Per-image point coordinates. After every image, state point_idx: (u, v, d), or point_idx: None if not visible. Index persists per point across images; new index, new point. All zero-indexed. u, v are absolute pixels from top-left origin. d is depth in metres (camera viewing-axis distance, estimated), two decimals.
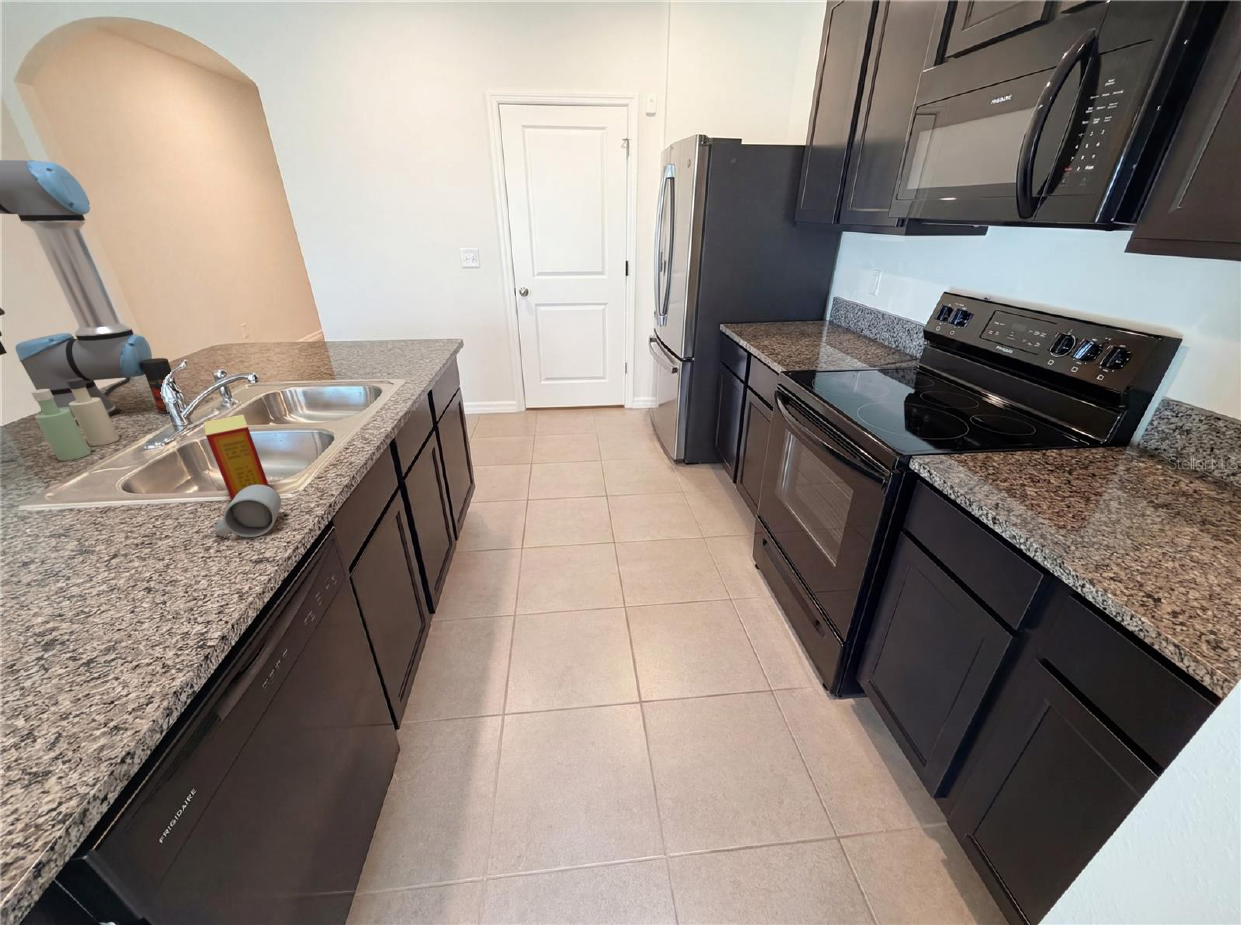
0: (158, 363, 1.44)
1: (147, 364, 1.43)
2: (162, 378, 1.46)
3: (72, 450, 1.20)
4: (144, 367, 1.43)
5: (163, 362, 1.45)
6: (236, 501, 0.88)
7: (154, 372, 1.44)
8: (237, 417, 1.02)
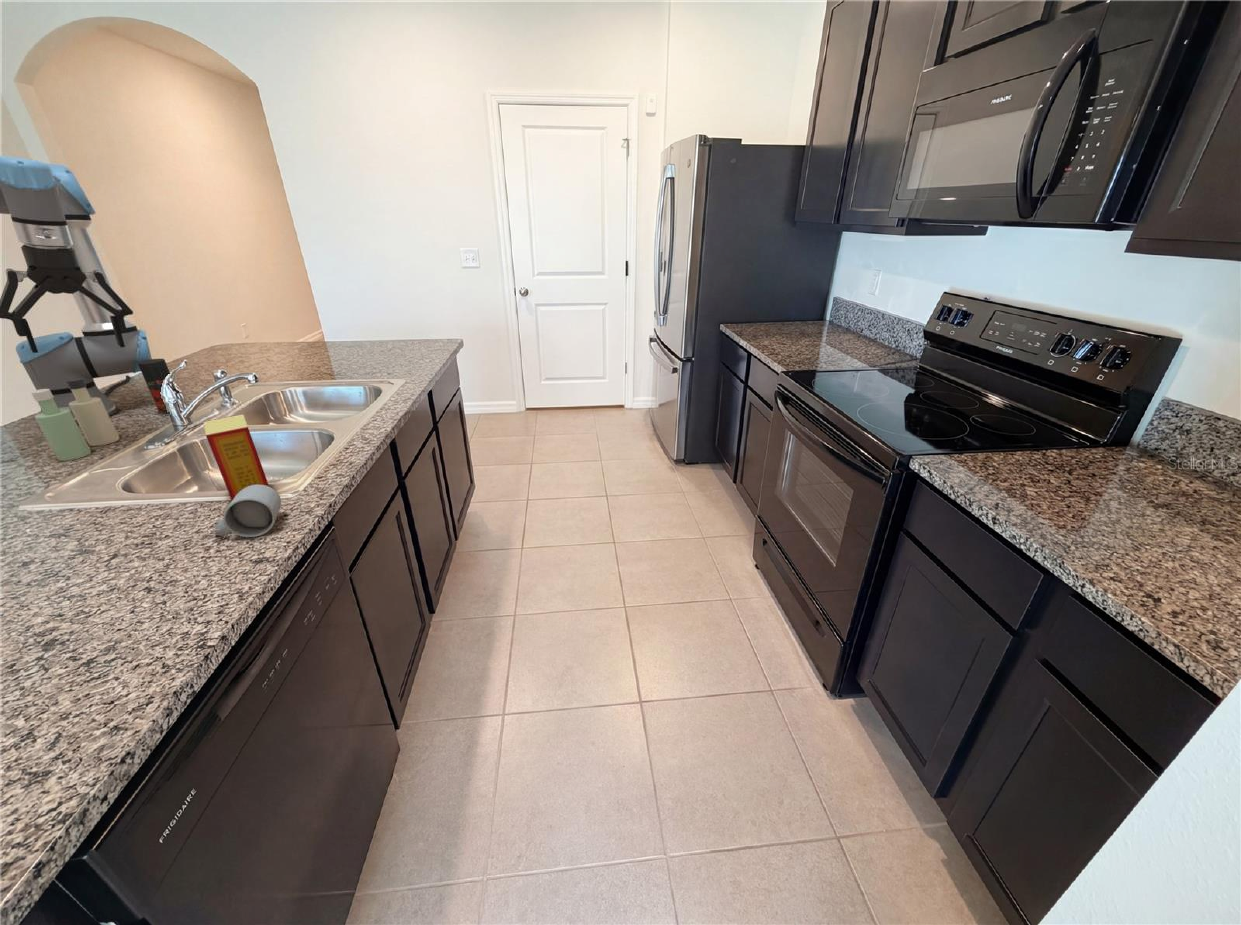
0: (155, 363, 1.44)
1: (144, 365, 1.43)
2: (160, 378, 1.45)
3: (72, 450, 1.20)
4: (141, 368, 1.43)
5: (160, 362, 1.45)
6: (236, 501, 0.88)
7: (152, 372, 1.44)
8: (237, 417, 1.02)
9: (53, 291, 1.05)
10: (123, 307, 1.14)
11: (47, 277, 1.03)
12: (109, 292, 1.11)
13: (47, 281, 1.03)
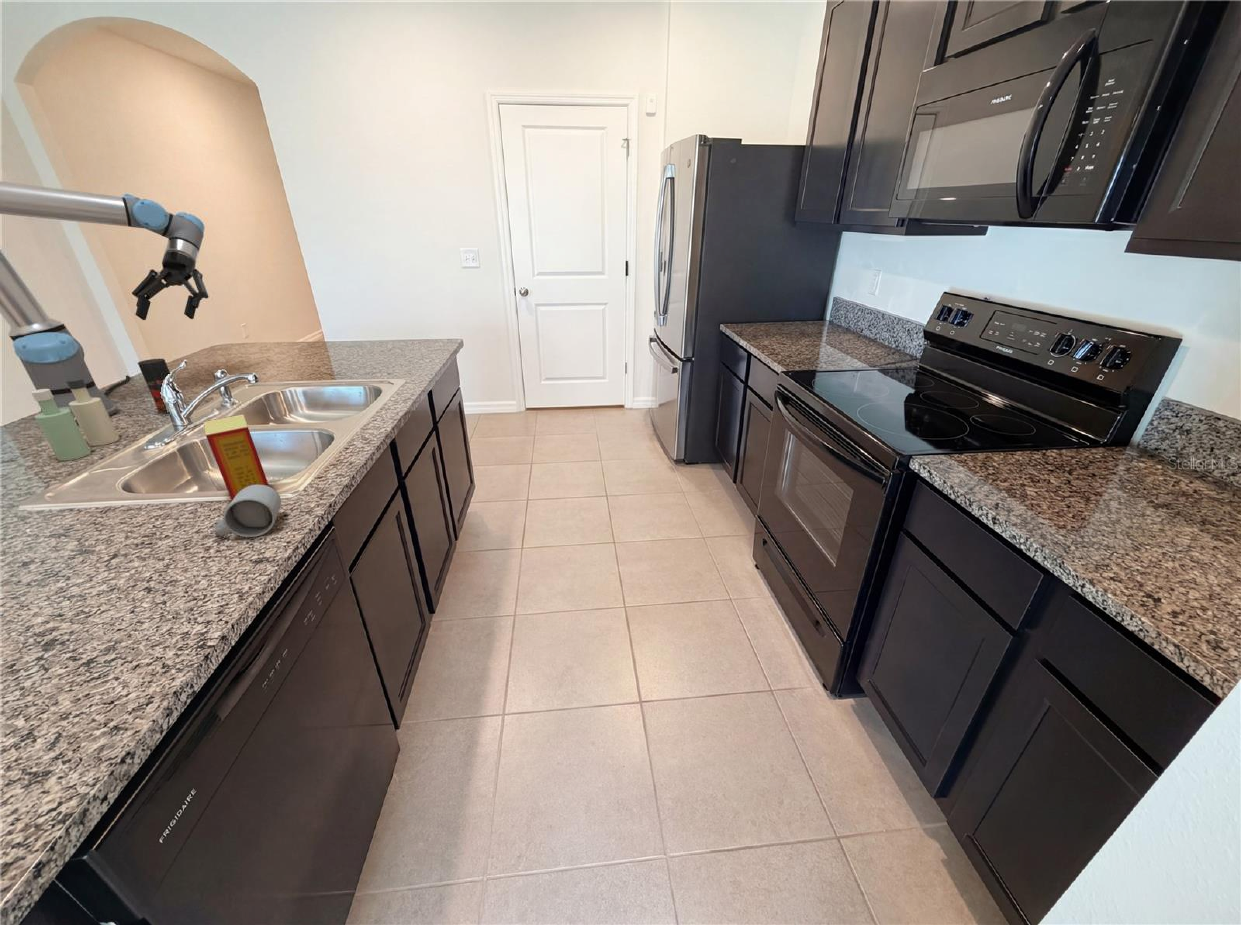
0: (155, 363, 1.44)
1: (144, 365, 1.43)
2: (160, 378, 1.45)
3: (72, 450, 1.20)
4: (141, 368, 1.43)
5: (160, 362, 1.45)
6: (236, 501, 0.88)
7: (152, 372, 1.44)
8: (237, 417, 1.02)
9: None
10: None
11: None
12: None
13: None
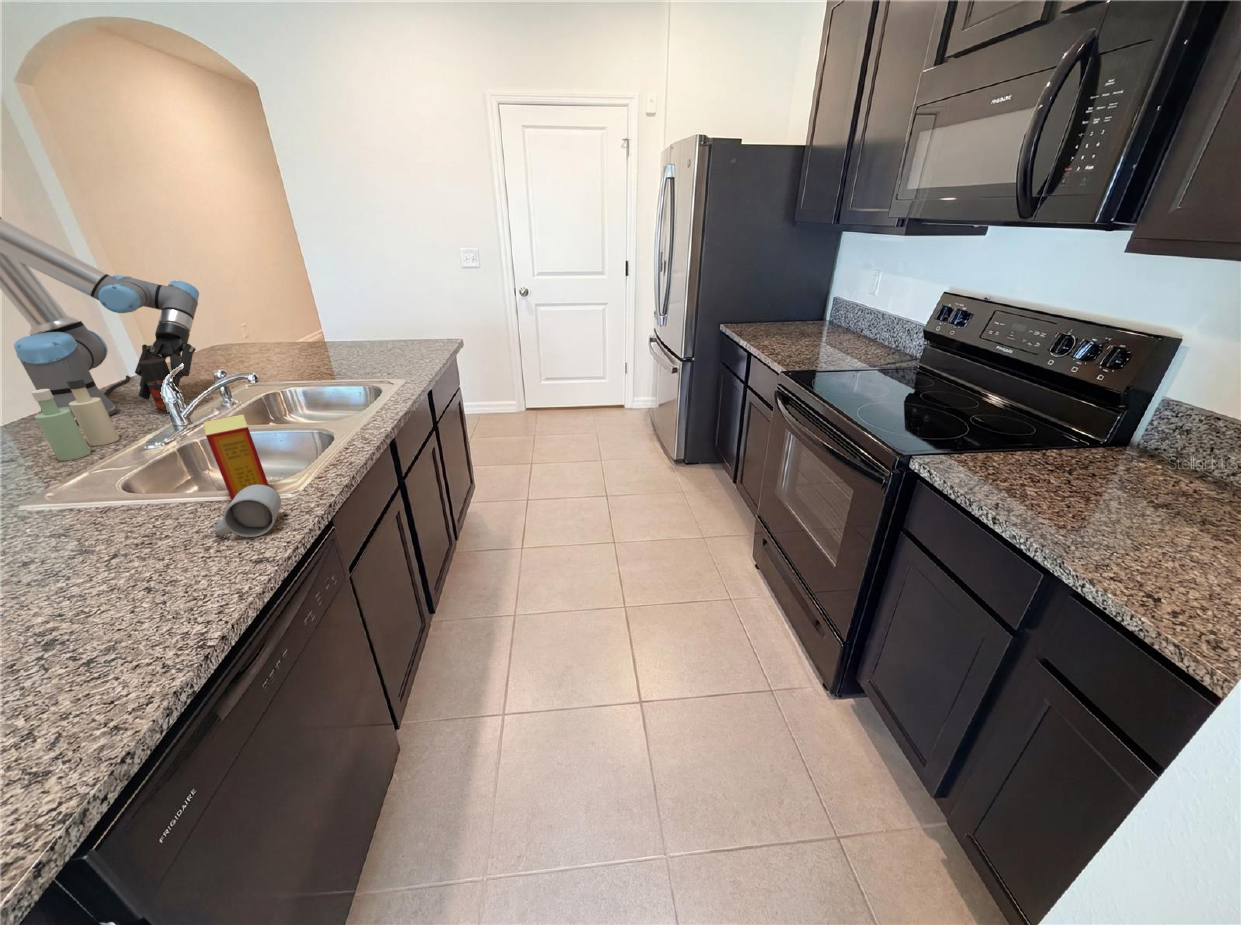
0: (155, 363, 1.44)
1: (145, 365, 1.43)
2: (160, 378, 1.45)
3: (72, 450, 1.20)
4: (142, 368, 1.43)
5: (160, 362, 1.45)
6: (236, 501, 0.88)
7: (152, 372, 1.44)
8: (237, 417, 1.02)
9: None
10: None
11: None
12: None
13: None
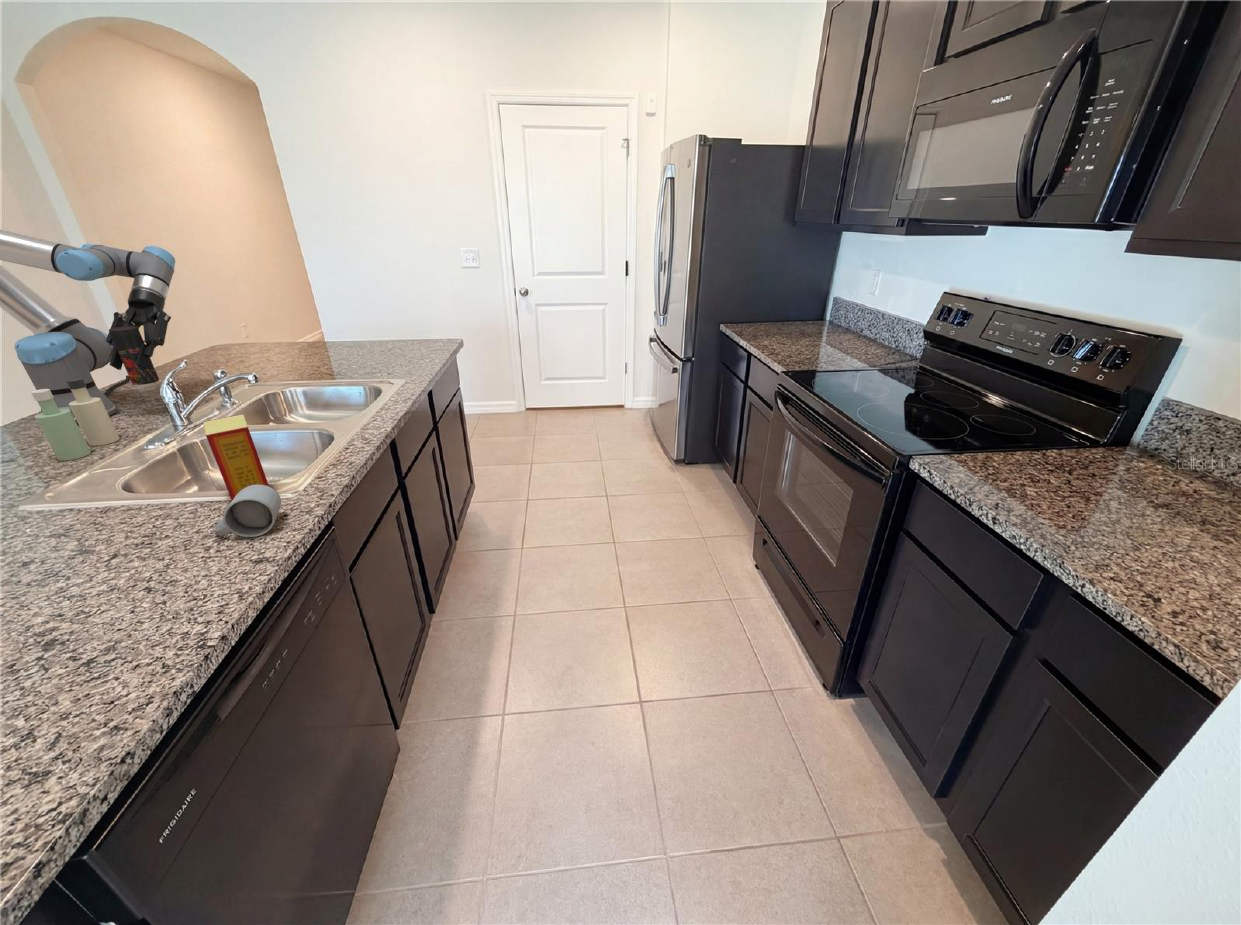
0: (127, 331, 1.36)
1: (115, 332, 1.35)
2: (133, 347, 1.38)
3: (72, 450, 1.20)
4: (113, 335, 1.35)
5: (133, 330, 1.37)
6: (236, 501, 0.88)
7: (124, 340, 1.36)
8: (237, 417, 1.02)
9: None
10: None
11: None
12: None
13: None
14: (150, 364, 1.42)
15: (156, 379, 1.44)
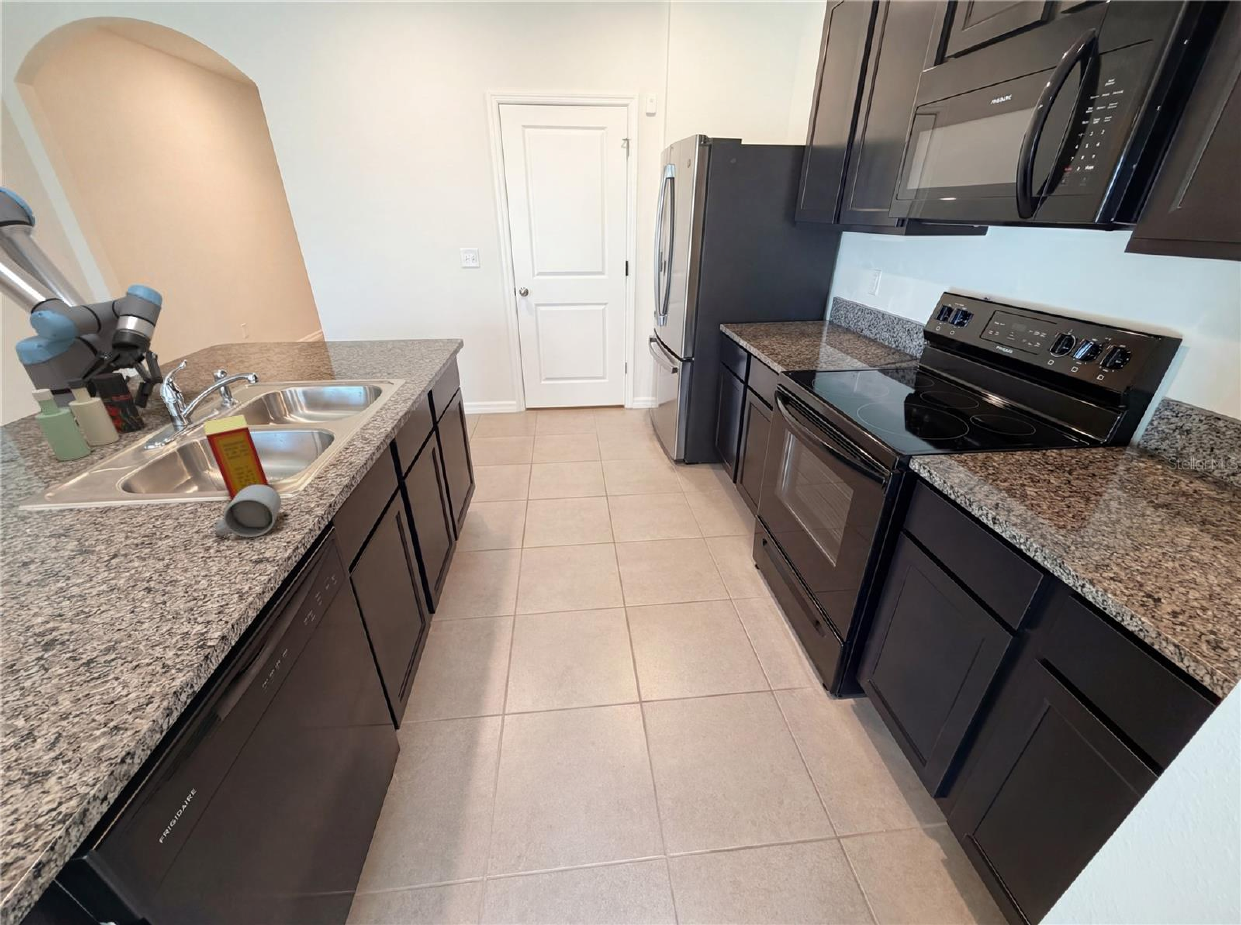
0: (111, 378, 1.31)
1: (98, 380, 1.29)
2: (117, 395, 1.32)
3: (72, 450, 1.20)
4: (95, 383, 1.30)
5: (116, 377, 1.32)
6: (236, 501, 0.88)
7: (107, 388, 1.31)
8: (237, 417, 1.02)
9: None
10: None
11: None
12: None
13: None
14: (135, 411, 1.37)
15: (142, 426, 1.39)
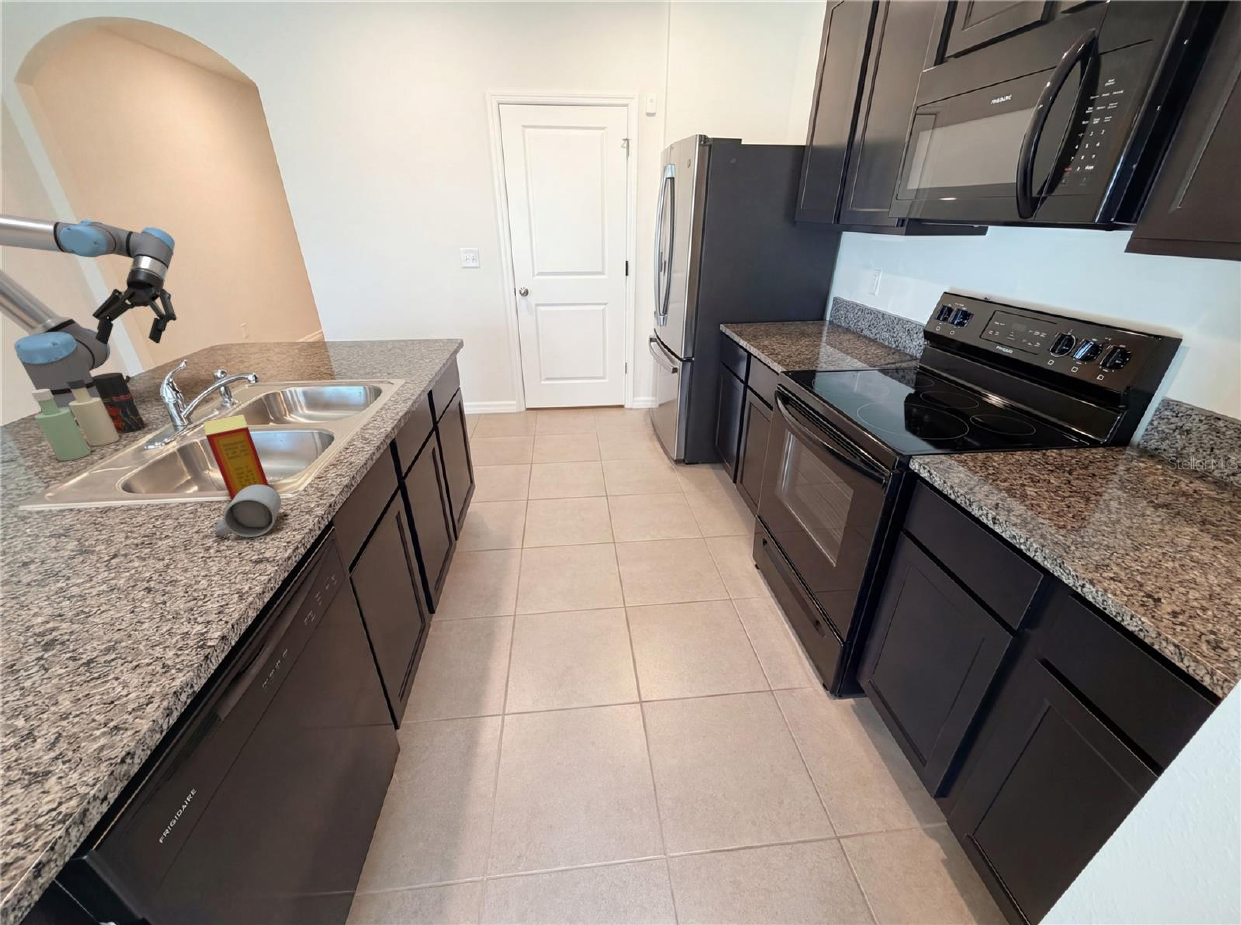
0: (111, 378, 1.31)
1: (98, 380, 1.29)
2: (117, 395, 1.32)
3: (72, 450, 1.20)
4: (95, 383, 1.30)
5: (116, 377, 1.32)
6: (236, 501, 0.88)
7: (107, 388, 1.31)
8: (237, 417, 1.02)
9: None
10: None
11: None
12: None
13: None
14: (135, 411, 1.37)
15: (142, 426, 1.39)
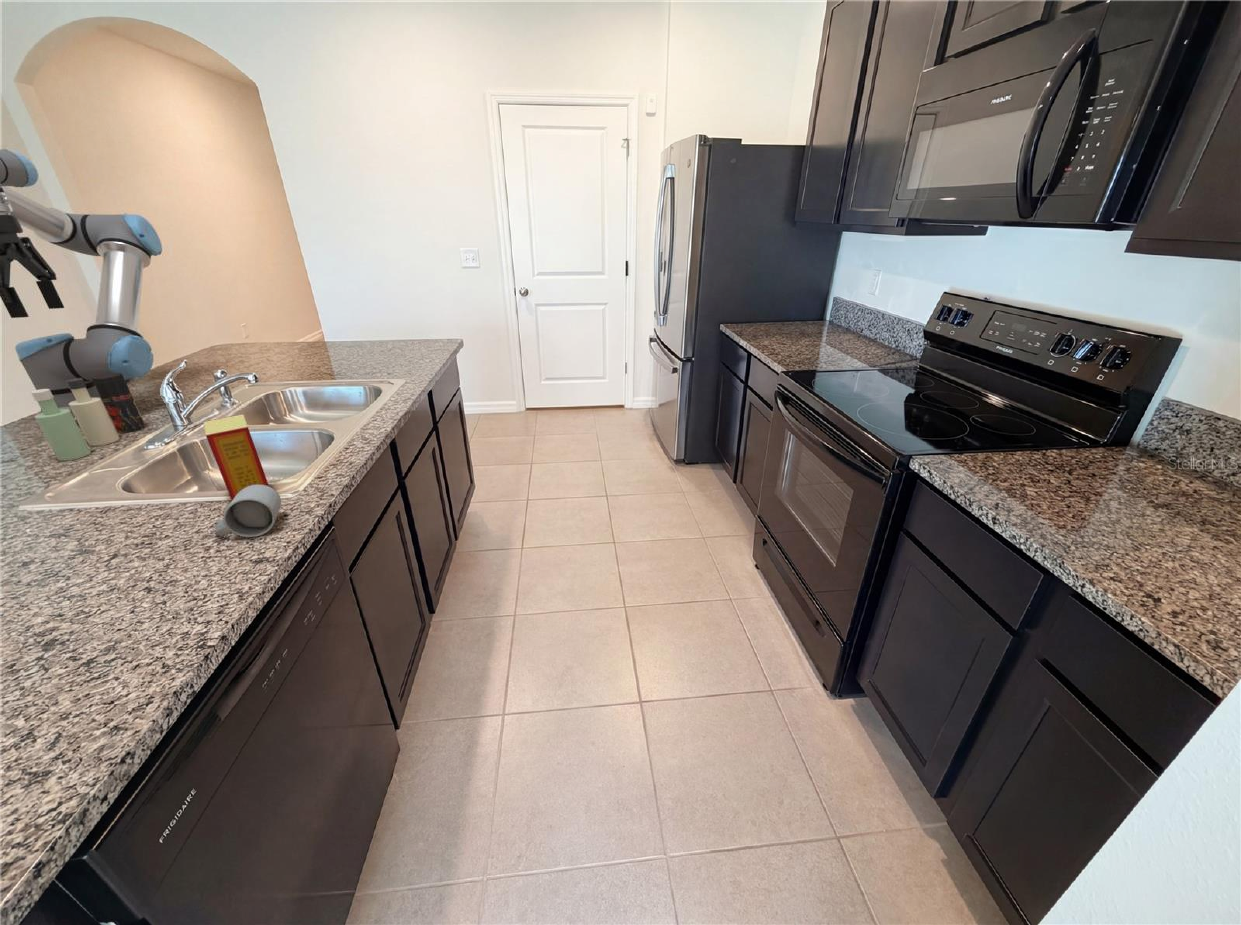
0: (111, 378, 1.31)
1: (98, 380, 1.29)
2: (117, 395, 1.32)
3: (72, 450, 1.20)
4: (95, 383, 1.30)
5: (116, 377, 1.32)
6: (236, 501, 0.88)
7: (107, 388, 1.31)
8: (237, 417, 1.02)
9: None
10: (49, 269, 1.25)
11: (8, 243, 1.13)
12: (38, 255, 1.22)
13: (12, 246, 1.14)
14: (135, 411, 1.37)
15: (142, 426, 1.39)
